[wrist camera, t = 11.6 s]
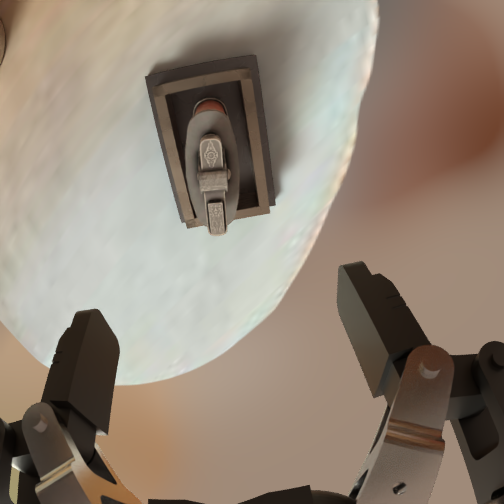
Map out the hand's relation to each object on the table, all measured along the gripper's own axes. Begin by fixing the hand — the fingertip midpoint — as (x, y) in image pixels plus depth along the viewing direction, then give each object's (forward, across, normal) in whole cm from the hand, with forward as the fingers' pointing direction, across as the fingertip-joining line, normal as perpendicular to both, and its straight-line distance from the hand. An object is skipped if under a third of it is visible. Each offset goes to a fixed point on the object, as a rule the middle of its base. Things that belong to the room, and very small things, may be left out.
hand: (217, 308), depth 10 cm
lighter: (+19, 0, 0) cm, 19 cm away
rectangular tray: (+20, 0, 0) cm, 20 cm away
